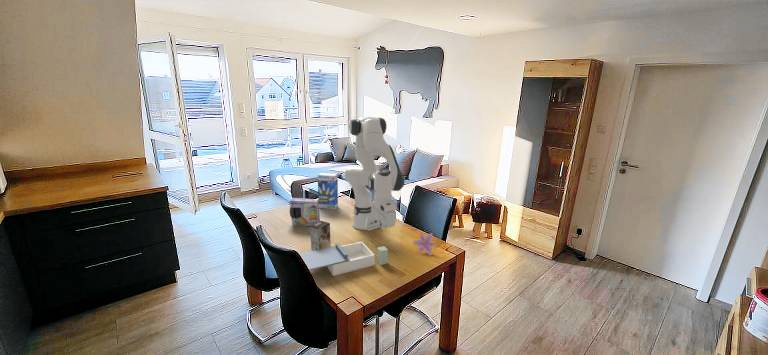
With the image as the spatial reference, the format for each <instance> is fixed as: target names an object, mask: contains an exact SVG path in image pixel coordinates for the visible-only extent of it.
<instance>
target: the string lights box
mask: <svg viewBox="0 0 768 355" xmlns="http://www.w3.org/2000/svg"><path fill="white" fill-rule="evenodd" d="M338 176H339V175H338V173H332V172H320V173H318V174H317V191H318V192H317V195H318V197H317V198H318V199H317V200H319V209H329V210H336V209H337V208H338V207H339V202H338V201H339V198H338V197H339V195H338V194H339V193H338V191H339V189H338V188H339V186H338V182H339V181H338Z"/></svg>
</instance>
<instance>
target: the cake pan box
mask: <svg viewBox="0 0 768 355" xmlns="http://www.w3.org/2000/svg"><path fill="white" fill-rule="evenodd" d="M289 206H290V208H289V216H290V217H291V224H292V225H293V226H305V227H306V226H307V227H310V226H311V225H313V224H315V223H317V222H320V221H321V216H320V215H321V214H320V208H319V200H318V199H311V198H303V197H302V198H301V197H300V198H299V197H292V198H291V199H290V200H289Z"/></svg>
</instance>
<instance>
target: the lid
mask: <svg viewBox="0 0 768 355" xmlns="http://www.w3.org/2000/svg"><path fill="white" fill-rule="evenodd" d="M341 246H342V245H341V244H340V243H337V242H336V243H335V245H333V246H332V245H331V247H328V248H323V249H318V250H314V251H311V250H310V251H305V252H301V253H299V254H300V256H301V257H302V259H303V260H304V262H305V264H306V265H307V267H308V269H309V271H313V270H317V269H321V268H325V267H326V268H327V266H330V265H334V264H338V263H342V262H346V261H350V259H349V258H348V254H347V253H346V252H345V251H344V249H343V248H342V247H341Z"/></svg>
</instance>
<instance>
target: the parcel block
mask: <svg viewBox="0 0 768 355" xmlns="http://www.w3.org/2000/svg"><path fill="white" fill-rule="evenodd" d="M376 248H377V250H376V253H377V254H376V262H377V263H378V264H379V265H380V266H383V265H386V264H388V262H389V260H388V259H389V258H388V254H389V249H388V248H387V247H386V246H385V245H383V246H382V245H381V246H379V247H376Z"/></svg>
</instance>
